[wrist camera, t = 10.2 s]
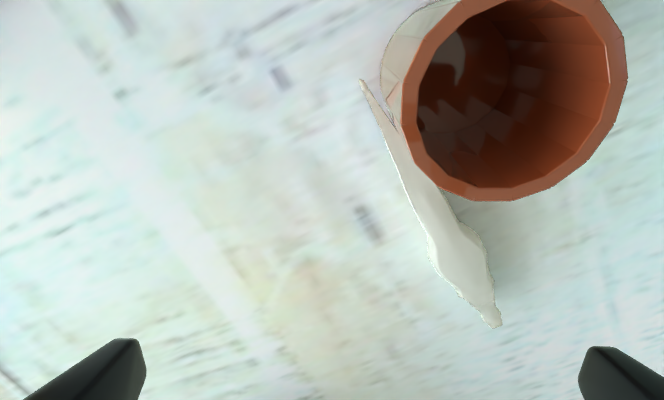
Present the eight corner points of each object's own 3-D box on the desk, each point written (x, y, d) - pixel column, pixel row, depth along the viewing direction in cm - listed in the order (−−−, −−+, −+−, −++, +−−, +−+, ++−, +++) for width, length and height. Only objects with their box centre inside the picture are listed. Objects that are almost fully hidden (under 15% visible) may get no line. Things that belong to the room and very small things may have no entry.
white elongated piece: (510, 300, 21) (525, 324, 19) (466, 318, 22) (477, 343, 20) (385, 59, 16) (390, 62, 14) (333, 92, 17) (331, 99, 15)
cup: (501, 137, 17) (592, 201, 11) (377, 139, 17) (395, 202, 11) (526, -2, 15) (660, -26, 8) (382, 1, 15) (408, -20, 9)
